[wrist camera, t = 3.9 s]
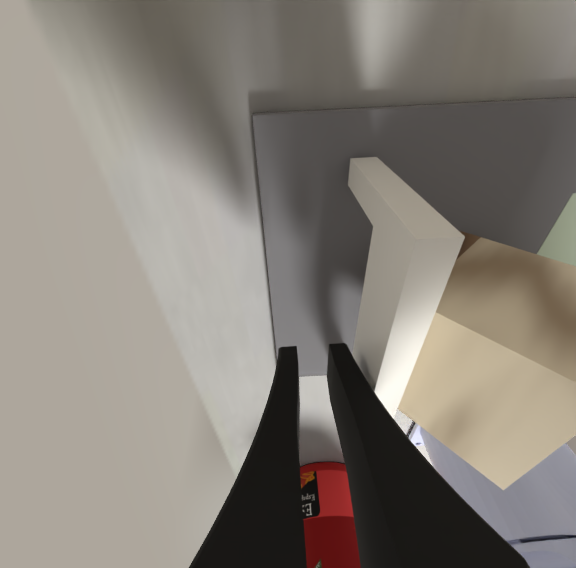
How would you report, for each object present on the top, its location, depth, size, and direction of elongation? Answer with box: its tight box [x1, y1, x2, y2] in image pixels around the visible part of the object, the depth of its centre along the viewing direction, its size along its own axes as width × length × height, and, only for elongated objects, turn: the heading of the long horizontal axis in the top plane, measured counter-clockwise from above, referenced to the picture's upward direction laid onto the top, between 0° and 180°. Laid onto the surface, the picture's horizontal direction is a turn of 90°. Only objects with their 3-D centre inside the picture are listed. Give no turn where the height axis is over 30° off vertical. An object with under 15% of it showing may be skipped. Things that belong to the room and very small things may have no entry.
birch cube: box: [398, 230, 576, 490], centre depth 12 cm, size 6×6×6 cm
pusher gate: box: [348, 157, 465, 419], centre depth 12 cm, size 1×13×6 cm, turn 2°
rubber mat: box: [252, 97, 576, 377], centre depth 15 cm, size 26×16×1 cm, turn 92°
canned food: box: [300, 462, 361, 568], centre depth 29 cm, size 8×8×11 cm
